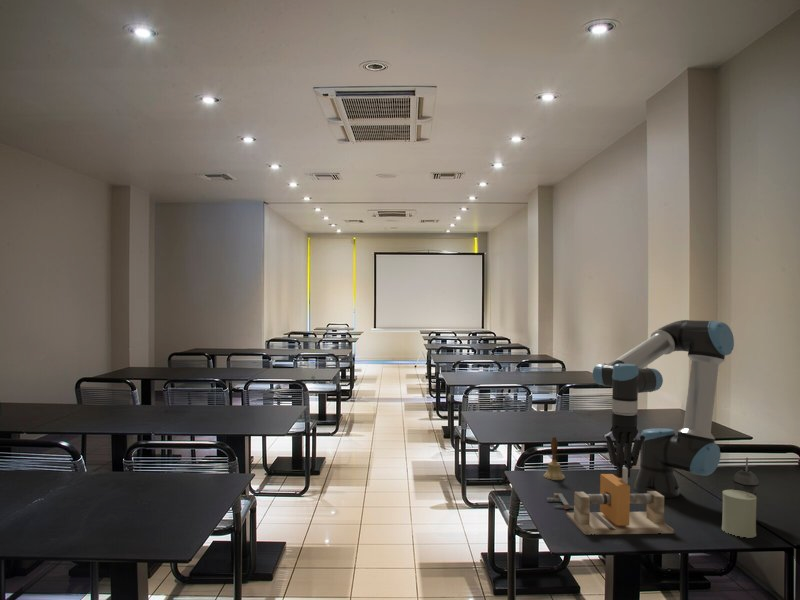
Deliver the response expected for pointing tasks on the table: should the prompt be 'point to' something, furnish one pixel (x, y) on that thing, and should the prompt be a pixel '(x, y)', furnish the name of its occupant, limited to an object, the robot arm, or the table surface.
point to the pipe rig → (637, 521)
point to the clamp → (559, 498)
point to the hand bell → (554, 464)
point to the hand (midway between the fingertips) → (623, 487)
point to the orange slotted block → (615, 499)
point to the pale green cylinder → (739, 513)
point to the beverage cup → (746, 481)
